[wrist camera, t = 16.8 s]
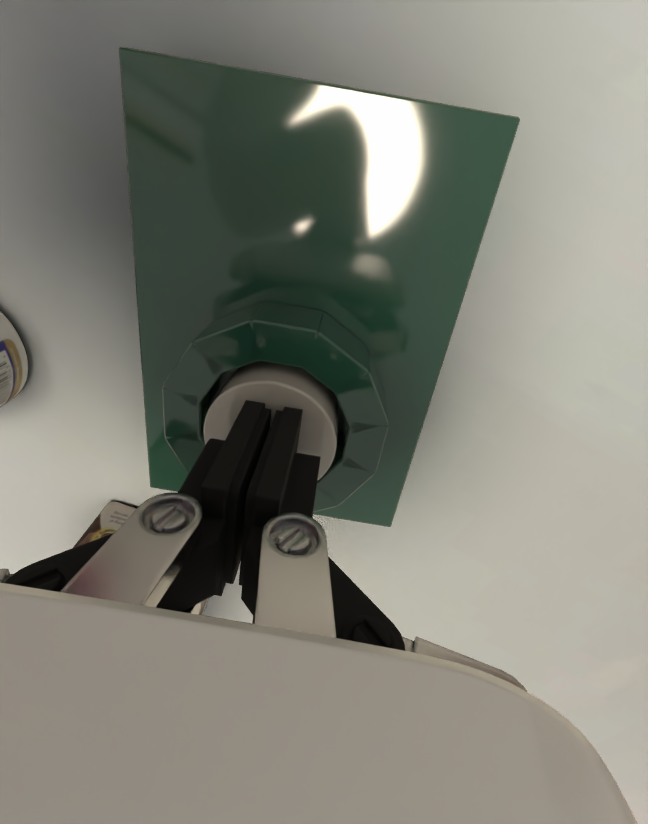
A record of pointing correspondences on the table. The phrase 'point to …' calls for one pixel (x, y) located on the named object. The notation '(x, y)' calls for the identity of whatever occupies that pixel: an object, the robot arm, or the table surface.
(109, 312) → the table surface
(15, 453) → the table surface
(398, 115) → the green push button box
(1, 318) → the pill bottle
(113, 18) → the table surface
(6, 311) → the table surface
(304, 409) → the beige short cylinder
